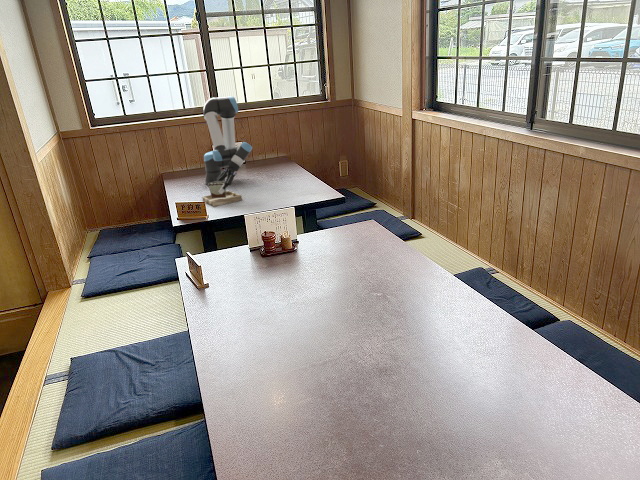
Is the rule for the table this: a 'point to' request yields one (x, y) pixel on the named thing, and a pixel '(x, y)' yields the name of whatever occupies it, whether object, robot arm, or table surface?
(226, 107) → the robot arm
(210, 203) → the tray
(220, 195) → the food container
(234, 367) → the table surface
